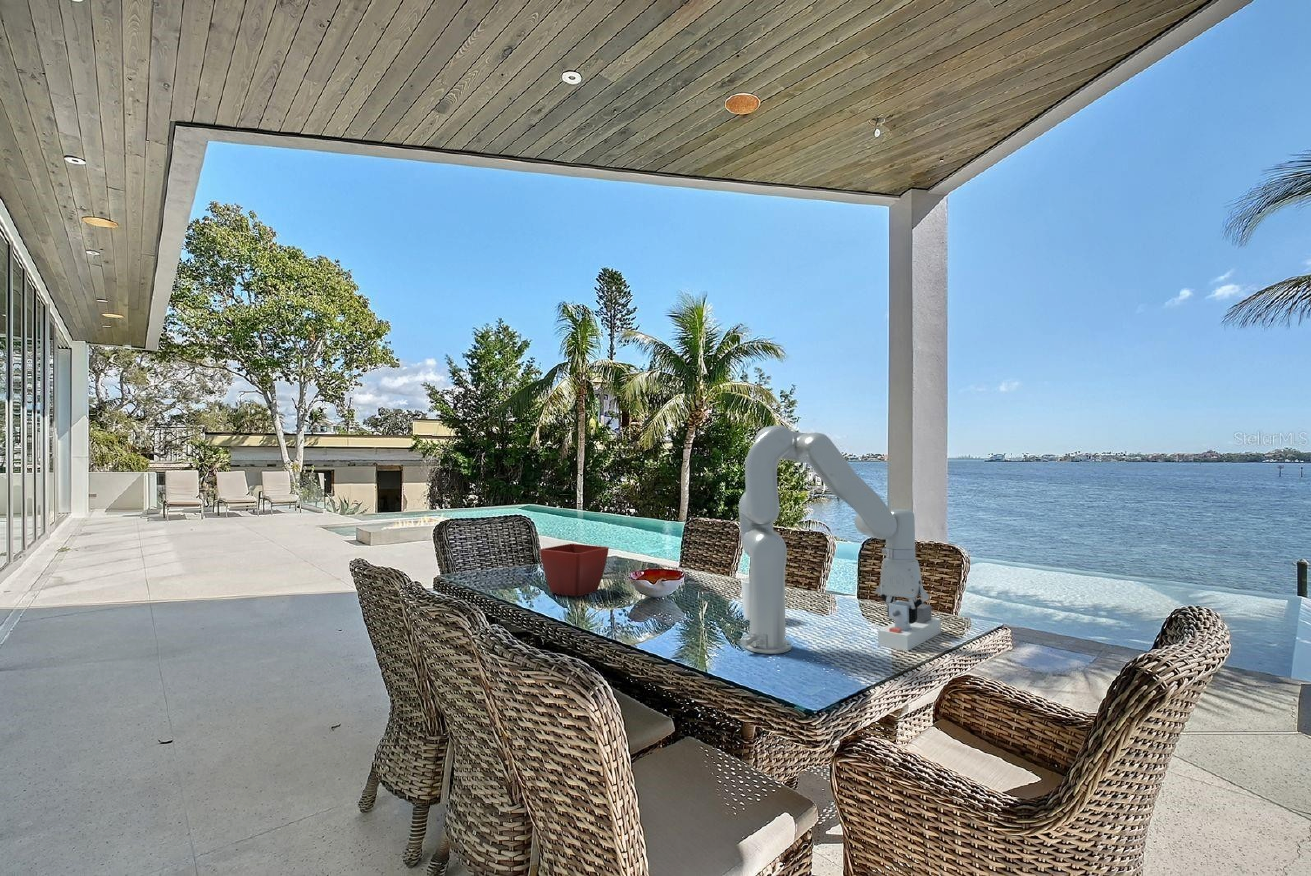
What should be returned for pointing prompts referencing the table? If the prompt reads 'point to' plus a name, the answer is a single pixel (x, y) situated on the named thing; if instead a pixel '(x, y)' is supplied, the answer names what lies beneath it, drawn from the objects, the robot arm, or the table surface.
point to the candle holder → (746, 598)
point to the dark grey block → (924, 613)
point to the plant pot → (574, 568)
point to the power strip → (909, 634)
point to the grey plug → (900, 614)
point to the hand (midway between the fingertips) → (902, 620)
